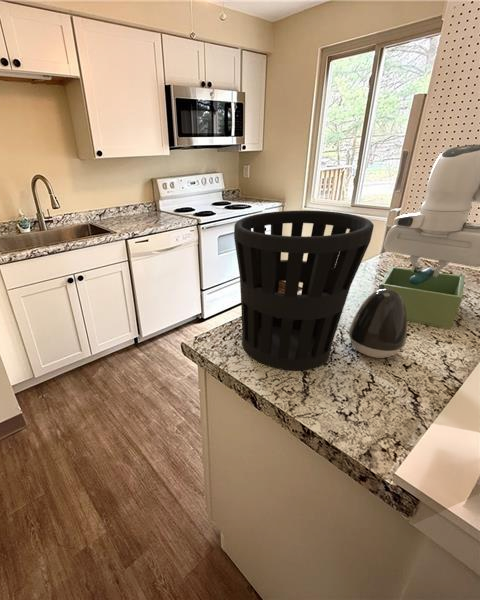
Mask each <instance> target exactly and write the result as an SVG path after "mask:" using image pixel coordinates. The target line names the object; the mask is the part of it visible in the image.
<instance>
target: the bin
mask: <svg viewBox="0 0 480 600" xmlns="http://www.w3.org/2000/svg"><path fill="white" fill-rule="evenodd" d="M411 271H412V268H405V267H398V266H397V267H396V266H390V268H389V269H388V270H387V272H386V274H385V276H384V277H383V279H382V280H381V282H380V283H379V285H381V284H382V285H384V286H385V289H390V290H393V291H395V292H397V293H398V294H399V295H400V296H401V298H402V299H403V302H404V304H405V308H406V315H407V321H409V322H414V323H418V324H422V325H427V326H432V327H436V328H441V329H445V330H451V328H452V326H453V323H454V321H455V318H456V316H457V313H458V310H459V308H460V306H461V303H462V300H463V296H464V287H465V278H466V276H465V275H457V274H449V273H443V272H439V275H438V276H437V277H432V278H430V279H428V280H426V281H424V282H422V283H420V284H418V285H413V284H411V283H410V281H409V279H410V278H411V277H412V276H414V275H416V274H417V273H413V272H411Z"/></svg>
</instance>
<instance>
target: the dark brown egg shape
mask: <svg viewBox="0 0 480 600" xmlns="http://www.w3.org/2000/svg"><path fill="white" fill-rule="evenodd" d="M380 284H381V283H380ZM380 284H379V285H378V286H377V287H378V289H376V290H375V291H374V292H372V293H371V294H370V295H368V297H367V298H366V299H365V300H364V301H363V302H362V304H361V305H360V307H359V308H358V310H357V311H356V313H355V315H354V317H353V318H352V321H351V323H350V325H349V328H348V336H349V340H350V343H351V345H352V346H353V348H354V349H355V350H356V351H358V352H359V353H360V354H362V355H365V356H367V357H370V358H377V359H385V358H389V357H392V356H394V355H396V354H397V353H399V351H400V350H401V349H402V348H404V347H405V345H406V342H407V335H408V320H407V315H406V308H405V304H404V302H403V299H402V298H401V296H400V295H399V294H398V293H397V292H395V291H393V290H390V289H385V286H384V285H382V284H381V285H380Z"/></svg>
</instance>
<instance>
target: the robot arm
mask: <svg viewBox="0 0 480 600" xmlns="http://www.w3.org/2000/svg"><path fill="white" fill-rule="evenodd" d="M473 203H478V204H480V144H466V145H459V146H455V147H450V148H449V149H446V150H444V151H442V152H441V153H440V154H439V156H438V158H437V159H436V161H435V163H434V165H433V167H432V169H431V172H430V175H429V178H428V181H427V184H426V187H425V198H424V201H423V203H422V204H421V207H420V208H419V211H415V212H414V211H413V212H411V213H410V212H409V213H406V214H401V215H399V216H397V217H395V218H394V219H393V222H392V224H393V226H392V227H390V229H389V230H388V231H387V234H386V236H385V239H384V242H383V246H382V247H383V249H384V251H385V252H389V253H394V254H395V253H396V254H400V255H406V256H409V262H410V264H411V266H412V267H411V269H412V271H411V272H413V273H419V272H421V271H422V269H423V267H424V266H423V265H421V264H419V263H420V262H419V259H420V258H424V259H429V260H433V261H434V260H435V261H438V262H437V265H439V266H438V267H434V268H432V269H430V273H429V276H432V277H437V276H438V275H439V273H441V270H442V269H444V268H445V267H446V266H447V265H449V263H450V264H451V263H452V264H458V265H463V266H469V267H475V268H479V267H480V224H479V223H472V222H471V223H470V222H468V219H469V216H470V213H471V211H472V208H473V205H472V204H473Z"/></svg>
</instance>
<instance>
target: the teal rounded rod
mask: <svg viewBox="0 0 480 600" xmlns="http://www.w3.org/2000/svg"><path fill="white" fill-rule="evenodd" d="M432 268H435V267H433V266H430V267H428V268H425V269H423V270H421V272H419V273H417V274H416V275H414V276H412V277H411V278H410V279H409V281H410V283H411V284H413V285H418V284H420V283H422V282H424V281H426V280H428V279H430V278H432V276H429V273H430V269H432Z"/></svg>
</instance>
